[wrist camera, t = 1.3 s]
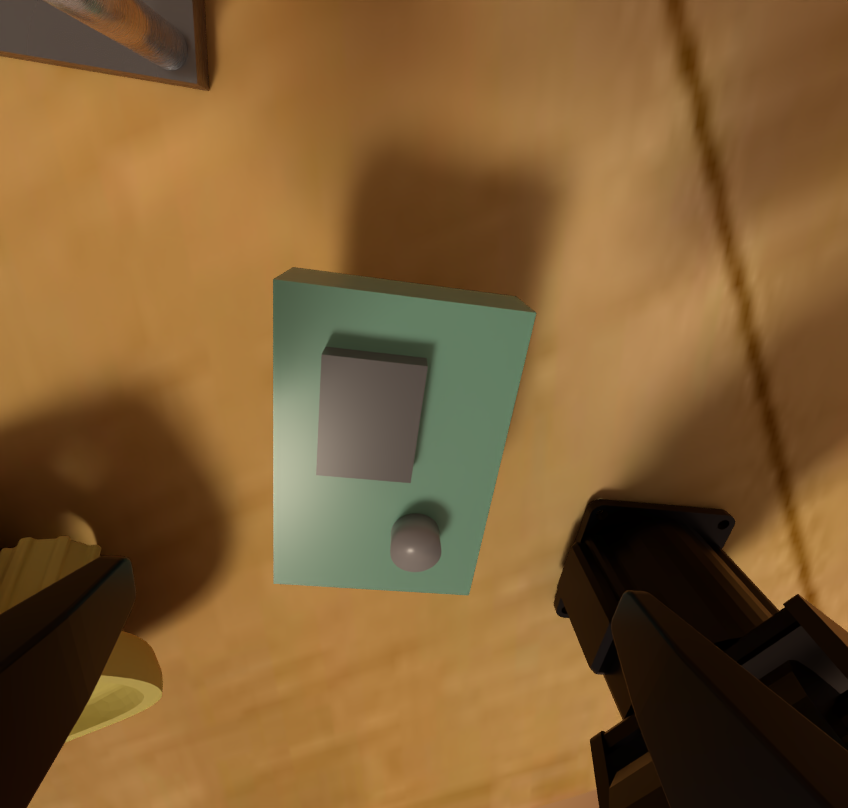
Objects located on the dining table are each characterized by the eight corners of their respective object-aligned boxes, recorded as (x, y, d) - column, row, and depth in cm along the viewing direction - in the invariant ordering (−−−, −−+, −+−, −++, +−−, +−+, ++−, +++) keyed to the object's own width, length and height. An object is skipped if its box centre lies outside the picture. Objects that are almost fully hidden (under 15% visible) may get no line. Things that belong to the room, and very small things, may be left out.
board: (515, 296, 12) (546, 321, 10) (460, 550, 16) (472, 616, 13) (293, 266, 12) (263, 284, 9) (288, 537, 15) (266, 605, 13)
